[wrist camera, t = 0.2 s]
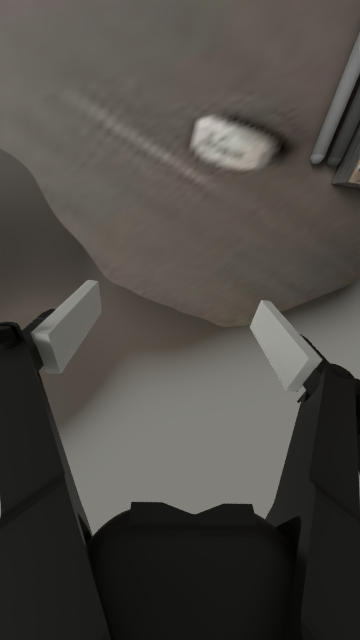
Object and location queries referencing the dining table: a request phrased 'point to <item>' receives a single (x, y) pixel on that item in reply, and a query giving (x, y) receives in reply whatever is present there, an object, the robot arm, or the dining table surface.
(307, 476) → the robot arm
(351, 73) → the grey rod
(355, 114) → the cord
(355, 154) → the grey bracketed base
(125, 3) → the dining table surface
